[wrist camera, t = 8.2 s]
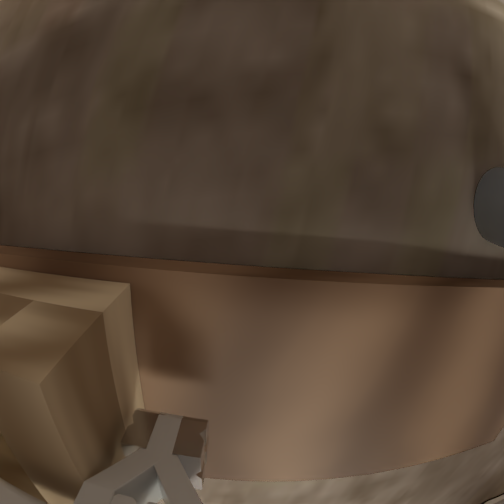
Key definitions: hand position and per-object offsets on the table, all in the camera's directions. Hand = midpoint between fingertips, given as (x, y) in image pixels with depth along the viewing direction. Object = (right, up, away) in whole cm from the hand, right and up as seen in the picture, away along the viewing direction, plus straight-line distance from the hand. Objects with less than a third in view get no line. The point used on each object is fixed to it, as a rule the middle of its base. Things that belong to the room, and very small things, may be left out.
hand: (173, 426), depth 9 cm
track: (+2, 0, +3) cm, 3 cm away
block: (-6, 0, +1) cm, 6 cm away
